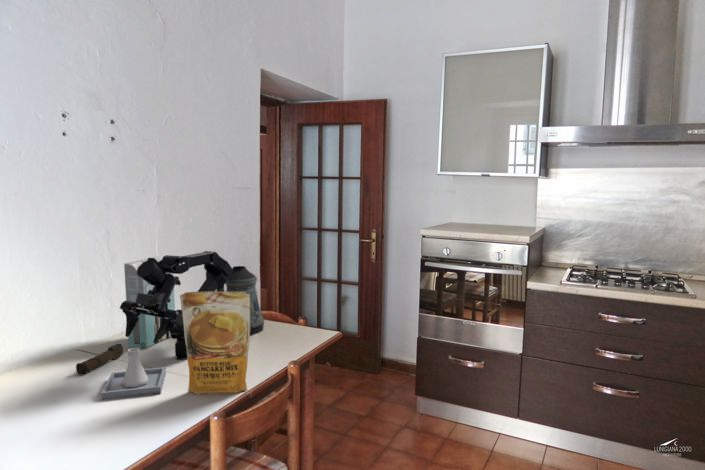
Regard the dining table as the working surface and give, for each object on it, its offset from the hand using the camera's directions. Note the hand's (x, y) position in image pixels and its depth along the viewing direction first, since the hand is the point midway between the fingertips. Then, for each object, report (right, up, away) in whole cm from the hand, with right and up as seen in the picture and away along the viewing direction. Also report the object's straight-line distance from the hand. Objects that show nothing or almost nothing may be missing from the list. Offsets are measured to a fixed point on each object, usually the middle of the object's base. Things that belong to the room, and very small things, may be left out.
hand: (140, 339), depth 149 cm
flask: (+1, -12, -5) cm, 13 cm away
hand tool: (-18, -11, +13) cm, 25 cm away
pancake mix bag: (+25, -13, -7) cm, 29 cm away
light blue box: (-10, -8, +36) cm, 38 cm away
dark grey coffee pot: (+18, -6, +48) cm, 52 cm away
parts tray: (+1, -12, -5) cm, 13 cm away
